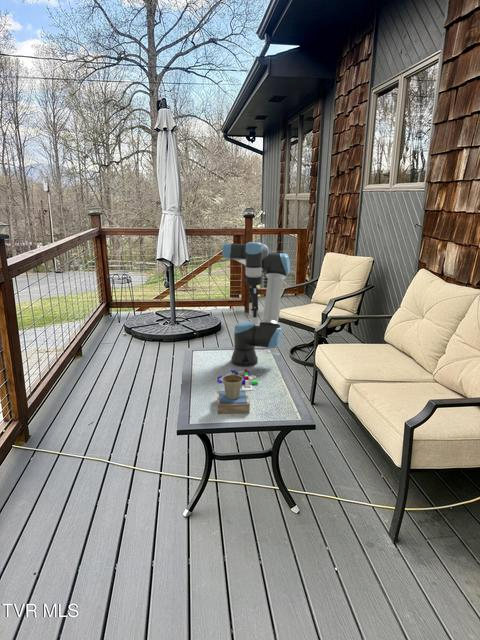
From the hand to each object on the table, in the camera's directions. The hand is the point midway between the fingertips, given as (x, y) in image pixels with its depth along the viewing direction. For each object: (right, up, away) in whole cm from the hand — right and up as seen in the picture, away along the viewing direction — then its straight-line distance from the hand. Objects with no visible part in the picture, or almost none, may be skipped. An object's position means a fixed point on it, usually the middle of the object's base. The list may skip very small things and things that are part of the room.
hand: (253, 319), depth 205 cm
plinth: (-10, -39, -12) cm, 42 cm away
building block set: (-8, -32, +16) cm, 37 cm away
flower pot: (-10, -35, -13) cm, 38 cm away
